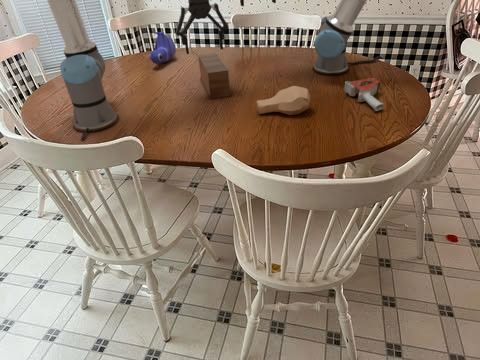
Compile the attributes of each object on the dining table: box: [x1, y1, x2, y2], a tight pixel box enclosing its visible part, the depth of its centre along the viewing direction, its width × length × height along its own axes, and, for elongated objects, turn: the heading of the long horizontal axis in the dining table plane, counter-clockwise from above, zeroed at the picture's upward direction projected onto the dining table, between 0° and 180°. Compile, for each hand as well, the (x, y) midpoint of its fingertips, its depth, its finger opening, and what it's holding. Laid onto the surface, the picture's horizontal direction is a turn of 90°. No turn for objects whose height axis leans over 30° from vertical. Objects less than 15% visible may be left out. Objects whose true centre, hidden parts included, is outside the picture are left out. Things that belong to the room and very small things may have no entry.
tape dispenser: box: [343, 77, 384, 112], centre depth 136 cm, size 18×5×20 cm
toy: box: [148, 31, 177, 69], centre depth 182 cm, size 10×17×25 cm
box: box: [198, 52, 231, 100], centre depth 153 cm, size 24×8×11 cm, turn 14°
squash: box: [255, 85, 312, 116], centre depth 130 cm, size 11×20×9 cm, turn 92°
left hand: (204, 50), depth 140 cm, fingers open, 13 cm apart
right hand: (258, 4), depth 146 cm, fingers open, 13 cm apart
